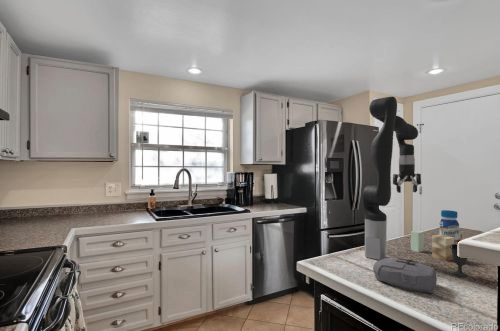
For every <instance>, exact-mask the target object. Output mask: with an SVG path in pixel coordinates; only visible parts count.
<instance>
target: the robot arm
mask: <svg viewBox="0 0 500 331" xmlns="http://www.w3.org/2000/svg"><path fill="white" fill-rule="evenodd" d="M368 108H369V113H370V115H371V116H372V117H373V118H374V119H376V120H377V121H379V122H381V123H383V125H382V127H381V128H380V130H379V132H378V133H377V134H376V135H375V136H374V138H373V140H372V142H371V145H370V153H369V154H370V156H369V157H370V161H371V164H372V165H373V167H374V169H375V172H376V175H377V176H376V177H377V183H376V184H375V185H374V184H370V185H366V186H365V187H364V188H363V191H362V208H363V209H362V210H363V211H362V212H363V215H364V256H365V257H366V258H368V259H373V260H377V261H379V260H382V259H384V258H387V251H388V250H387V249H388V248H387V247H388V246H387V239H388V238H387V235H388V234H387V230H388V229H387V228H388V227H387V225H388V222H387V214H386V213H385V212H384V211H382V210H381V209H380V208H379V206H380V207H386V206H388V205H389V203H390V201H391V199H392V198H391V196H392V185H394V186H396V192H397V193H398V194H400V193H401V192H402V191H401V190H402V188H401V186H402V184H404V183H406V182H410V183H411V184H412V193H417V192H418V186H419V185H421V184H422V176H421V175H422V174H421V173H417V172H416V173H415V171H416V170H415V168H416V167H415V166H416V165H415V164H416V163H415V162H416V161H415V160H416V159H415V145H413V144H409V143H406V142H405V141H414V140H415V139H417V138H418V137H419V130H418V128H417V127H416V126H414V125H412V124H409V123H408V122H406V120H405V119H404V118H403V117H401V116H400V115H398V114H397V113H398V101H397V99H396V97H395V96H386V97H380V98H376V99H372V100H371V102H370V103H369V107H368ZM394 133H395V137H396V141H397V143H398V148H399V158H398V173H397V174H396V173H394V174H393V175H392V176H393V177H392V176H391V174H392V171H391V170H392V159H393V158H392V157H393V150H394V149H393V146H394V144H393V143H394ZM391 178H392V180H391Z"/></svg>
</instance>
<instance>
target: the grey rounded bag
mask: <svg viewBox="0 0 500 331" xmlns="http://www.w3.org/2000/svg"><path fill="white" fill-rule="evenodd" d="M372 270H373V273H374V277H375V278H376V279H377V280H378V281H380V282H384V283H386V284H387V285H390V286H393V287H397V288H399V289H404V290H409V291H414V292H418V293H425V294H426V293H427V294H433V293H434V291H435V289H436V287H437V282H438V278H437V271H436V270H435V268H434V267H432V266H429V265H426V264H424V263H420V262H418V261H415V260H414V261H413V260H412V259H406V258H405V259H404V258H396V257H386V258H384V259H381V260H377V261H375V262H374V264H373V267H372Z"/></svg>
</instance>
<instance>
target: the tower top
mask: <svg viewBox="0 0 500 331" xmlns="http://www.w3.org/2000/svg"><path fill="white" fill-rule="evenodd" d="M431 242H432V243H431V247H436V248H440V249H444V250H449V249H451V248H450V246H451V245H453V244H454V238H453V237H449V236H444V235H440V234H437V235H436V234H435V235H431Z"/></svg>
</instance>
